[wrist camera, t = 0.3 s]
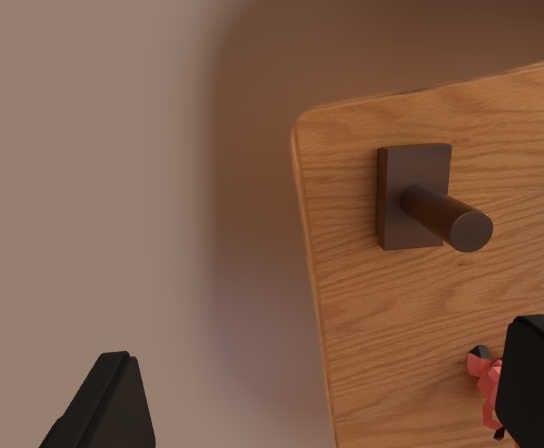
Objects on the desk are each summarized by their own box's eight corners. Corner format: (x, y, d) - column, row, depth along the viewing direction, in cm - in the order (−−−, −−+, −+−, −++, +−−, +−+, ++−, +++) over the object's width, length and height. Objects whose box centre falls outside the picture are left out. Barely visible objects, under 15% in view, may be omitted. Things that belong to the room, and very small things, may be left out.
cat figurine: (536, 353, 34) (680, 479, 22) (492, 404, 36) (604, 545, 24) (478, 326, 32) (599, 445, 21) (435, 381, 34) (525, 518, 23)
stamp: (374, 145, 27) (435, 165, 18) (433, 140, 27) (523, 159, 18) (372, 238, 29) (425, 297, 20) (426, 233, 29) (503, 290, 20)
